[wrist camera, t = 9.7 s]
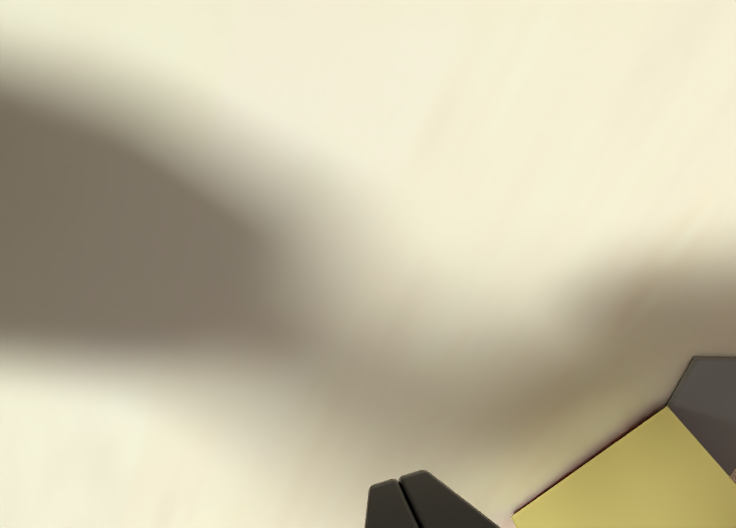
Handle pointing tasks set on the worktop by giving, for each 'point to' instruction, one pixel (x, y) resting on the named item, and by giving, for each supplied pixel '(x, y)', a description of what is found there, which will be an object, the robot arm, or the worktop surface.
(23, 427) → the worktop surface
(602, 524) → the baking soda box
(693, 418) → the mat
